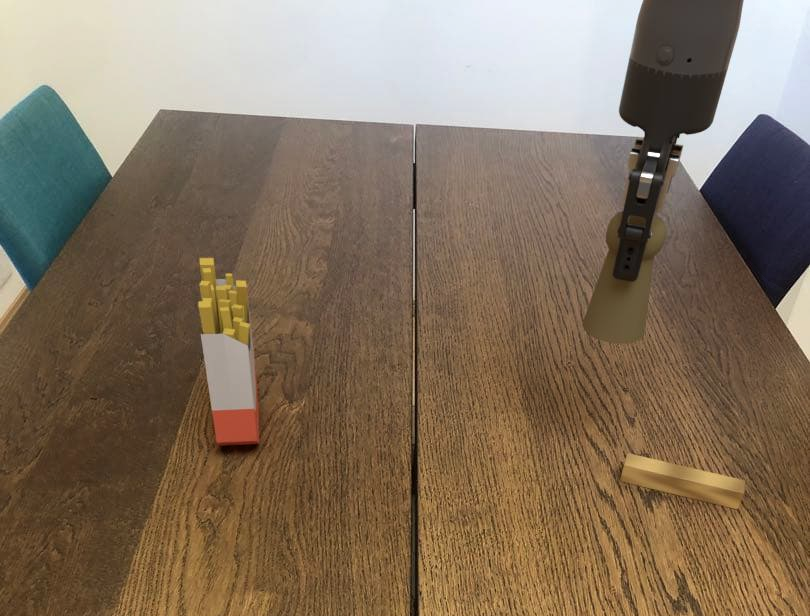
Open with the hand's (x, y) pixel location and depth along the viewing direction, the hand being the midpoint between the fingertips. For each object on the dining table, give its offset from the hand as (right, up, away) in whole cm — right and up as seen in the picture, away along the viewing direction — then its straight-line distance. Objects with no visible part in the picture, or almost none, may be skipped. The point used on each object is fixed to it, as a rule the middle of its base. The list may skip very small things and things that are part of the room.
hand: (629, 264), depth 75 cm
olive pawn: (0, -5, +5) cm, 7 cm away
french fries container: (-38, -13, +15) cm, 43 cm away
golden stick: (+8, -20, +10) cm, 24 cm away
